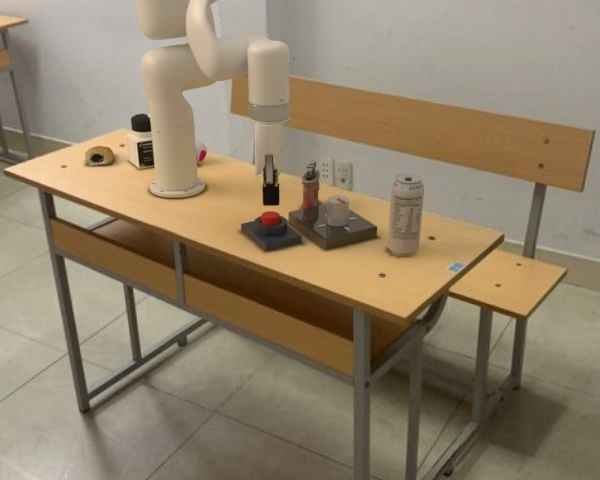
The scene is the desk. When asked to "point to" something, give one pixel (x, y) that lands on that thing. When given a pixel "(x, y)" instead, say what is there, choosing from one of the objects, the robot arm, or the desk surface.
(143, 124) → the medicine bottle
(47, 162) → the desk surface
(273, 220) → the power button
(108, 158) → the pastry
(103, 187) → the desk surface
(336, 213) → the knob
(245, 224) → the control block
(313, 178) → the lighter
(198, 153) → the stress ball
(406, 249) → the energy drink can
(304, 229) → the grey dial base plate
